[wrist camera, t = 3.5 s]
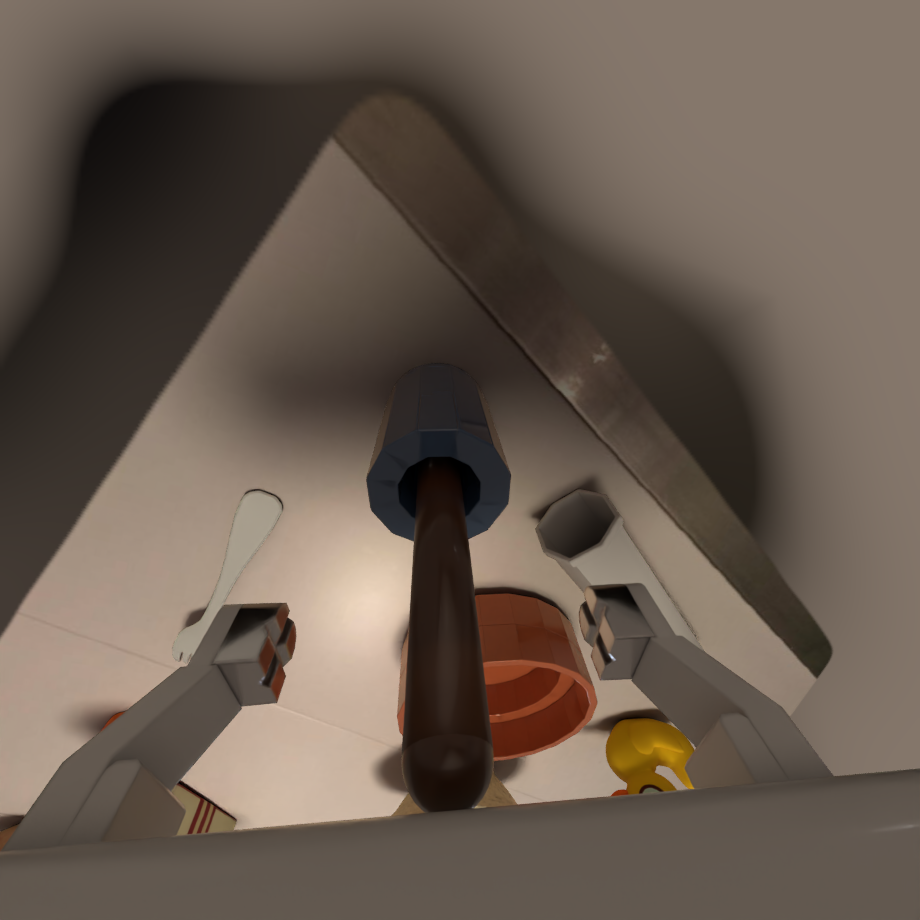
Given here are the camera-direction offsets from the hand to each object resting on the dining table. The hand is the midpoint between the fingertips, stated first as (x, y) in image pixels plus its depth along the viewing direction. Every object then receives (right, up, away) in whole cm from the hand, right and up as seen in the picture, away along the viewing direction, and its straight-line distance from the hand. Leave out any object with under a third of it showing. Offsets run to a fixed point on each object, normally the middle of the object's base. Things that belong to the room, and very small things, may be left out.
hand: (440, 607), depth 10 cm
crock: (-1, +7, +11) cm, 13 cm away
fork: (-17, -6, +18) cm, 26 cm away
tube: (+15, -7, +21) cm, 27 cm away
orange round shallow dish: (+3, -13, +23) cm, 27 cm away
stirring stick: (-1, +7, +11) cm, 13 cm away
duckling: (+20, -26, +33) cm, 47 cm away
